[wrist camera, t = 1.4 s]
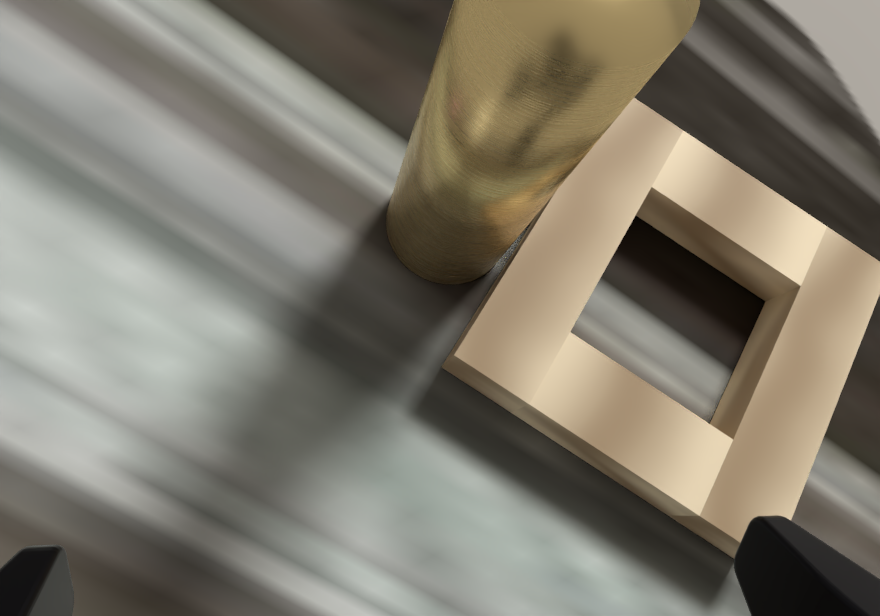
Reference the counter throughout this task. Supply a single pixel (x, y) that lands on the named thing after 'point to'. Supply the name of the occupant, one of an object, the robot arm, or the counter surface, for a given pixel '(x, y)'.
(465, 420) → the counter surface
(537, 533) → the counter surface
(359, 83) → the counter surface
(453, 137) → the brass cylinder peg
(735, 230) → the jig
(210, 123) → the counter surface
